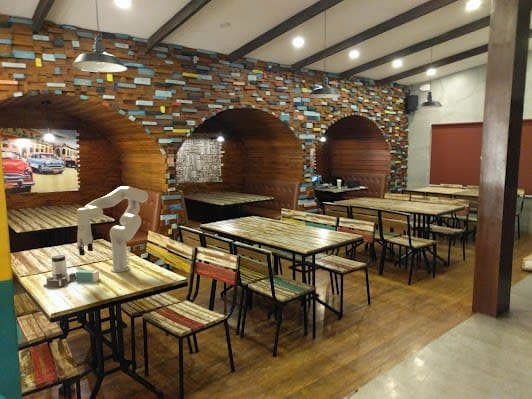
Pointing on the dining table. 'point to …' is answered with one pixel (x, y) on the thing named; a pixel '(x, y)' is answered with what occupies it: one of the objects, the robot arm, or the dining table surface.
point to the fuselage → (87, 275)
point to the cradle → (60, 280)
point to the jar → (59, 264)
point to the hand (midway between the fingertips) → (86, 253)
